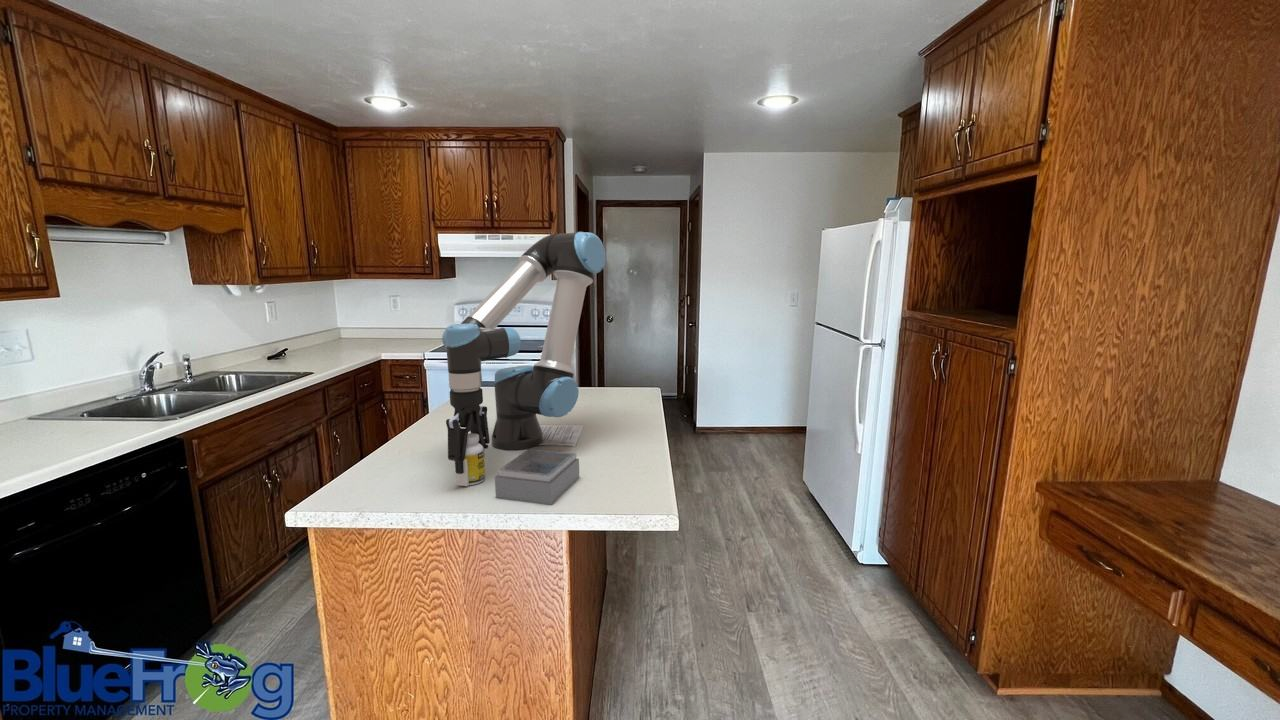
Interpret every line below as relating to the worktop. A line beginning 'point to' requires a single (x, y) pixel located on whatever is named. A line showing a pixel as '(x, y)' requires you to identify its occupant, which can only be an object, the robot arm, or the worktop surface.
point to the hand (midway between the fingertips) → (471, 479)
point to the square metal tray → (537, 476)
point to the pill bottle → (475, 459)
